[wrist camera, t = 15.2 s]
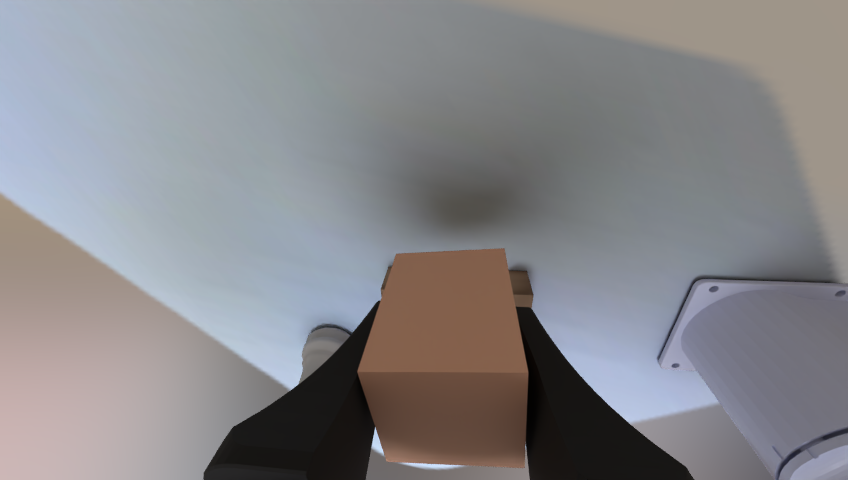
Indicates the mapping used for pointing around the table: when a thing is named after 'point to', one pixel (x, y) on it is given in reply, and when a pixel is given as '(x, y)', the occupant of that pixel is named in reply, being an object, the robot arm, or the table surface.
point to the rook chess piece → (320, 348)
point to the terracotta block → (448, 362)
